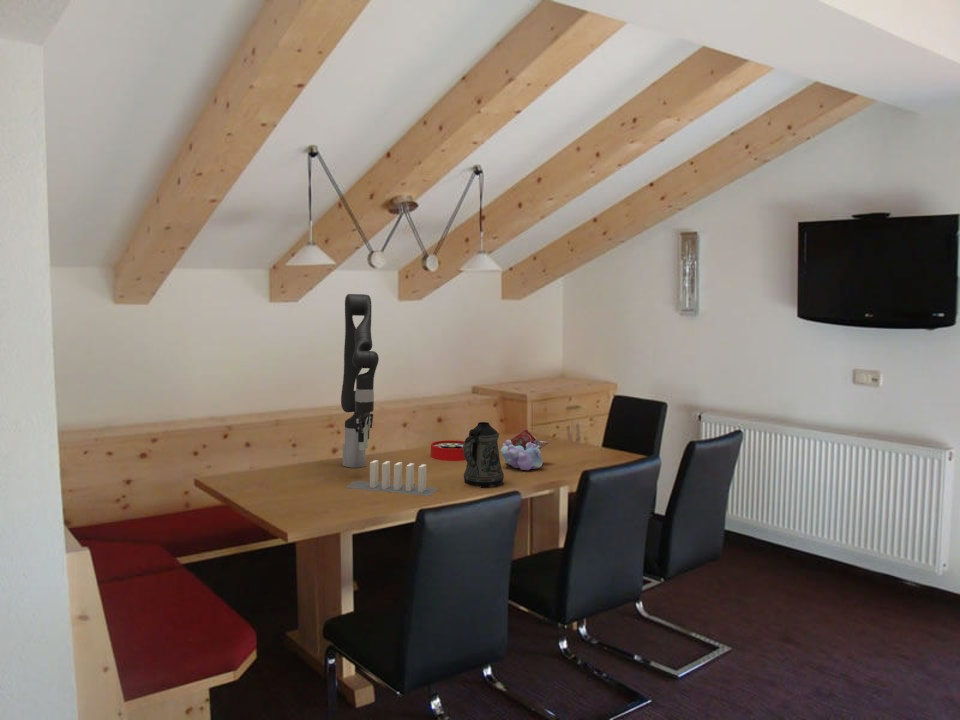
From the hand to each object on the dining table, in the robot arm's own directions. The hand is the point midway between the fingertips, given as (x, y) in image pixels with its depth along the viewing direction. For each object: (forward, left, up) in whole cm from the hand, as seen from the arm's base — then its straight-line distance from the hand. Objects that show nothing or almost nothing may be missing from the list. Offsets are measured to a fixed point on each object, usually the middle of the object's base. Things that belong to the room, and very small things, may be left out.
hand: (363, 440), depth 334 cm
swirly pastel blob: (+57, +46, -16) cm, 75 cm away
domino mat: (+17, -11, -16) cm, 26 cm away
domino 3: (+14, -11, -16) cm, 24 cm away
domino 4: (+19, -11, -16) cm, 27 cm away
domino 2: (+9, -11, -16) cm, 21 cm away
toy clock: (+22, +55, -17) cm, 61 cm away
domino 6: (+29, -11, -16) cm, 35 cm away
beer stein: (+48, +10, -16) cm, 52 cm away
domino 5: (+24, -11, -16) cm, 31 cm away
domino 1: (0, 0, -3) cm, 3 cm away
